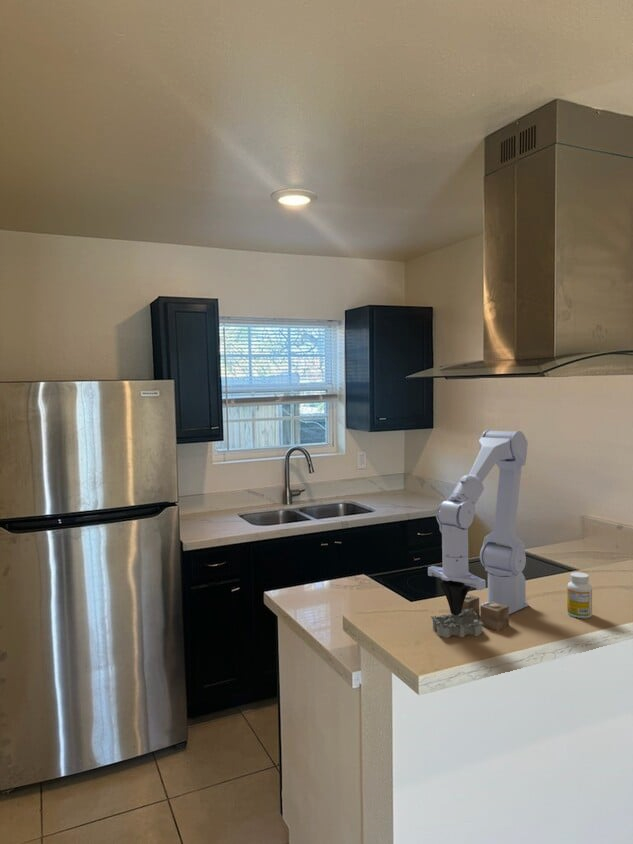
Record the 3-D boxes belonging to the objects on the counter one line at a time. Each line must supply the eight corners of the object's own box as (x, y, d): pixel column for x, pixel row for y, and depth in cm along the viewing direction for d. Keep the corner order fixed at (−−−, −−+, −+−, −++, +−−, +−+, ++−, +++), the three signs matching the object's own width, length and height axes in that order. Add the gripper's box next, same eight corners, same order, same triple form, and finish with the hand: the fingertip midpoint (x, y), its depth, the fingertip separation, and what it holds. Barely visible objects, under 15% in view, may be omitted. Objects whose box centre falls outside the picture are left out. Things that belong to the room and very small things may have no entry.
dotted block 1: (464, 610, 145) (463, 592, 145) (479, 615, 142) (479, 596, 141) (452, 615, 142) (452, 596, 142) (468, 620, 139) (467, 601, 138)
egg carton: (475, 624, 137) (475, 607, 137) (485, 638, 129) (485, 619, 129) (429, 626, 136) (429, 608, 136) (437, 639, 129) (437, 621, 129)
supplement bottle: (575, 608, 144) (575, 569, 144) (596, 615, 140) (596, 574, 139) (562, 614, 141) (562, 574, 141) (584, 620, 137) (584, 579, 136)
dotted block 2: (491, 619, 139) (491, 600, 139) (508, 625, 135) (508, 605, 135) (480, 625, 136) (480, 605, 136) (497, 630, 133) (497, 610, 132)
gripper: (418, 551, 135) (419, 609, 136) (471, 564, 124) (472, 627, 125) (438, 545, 140) (439, 601, 140) (491, 558, 129) (491, 618, 129)
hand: (456, 613), depth 133 cm, fingers closed
